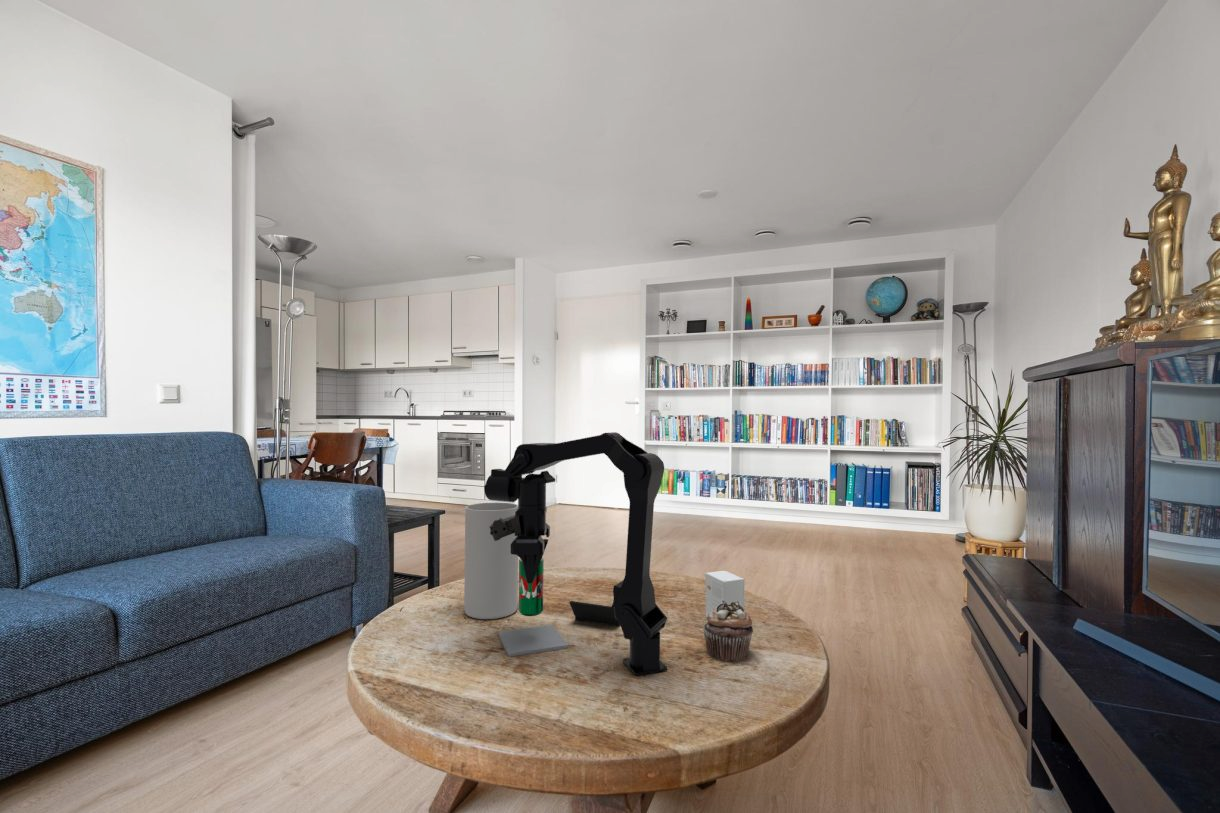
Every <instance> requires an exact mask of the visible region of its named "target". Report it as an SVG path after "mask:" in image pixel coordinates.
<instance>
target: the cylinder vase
mask: <svg viewBox="0 0 1220 813" xmlns="http://www.w3.org/2000/svg"><path fill="white" fill-rule="evenodd" d="M464 507H465V509H464V511H465V512H464V513H465V516H464V518H465V520H464V521H465V522H464V582H463V584H464V593H463V594H464V597H463V598H464V604H463V606H464V607H463V608H464V609H463V610H464V613H465V614H466V615H467V616H468V617H470V618H473V619H477V620H497V619H503V618H506V617H509V616H510V615H513V614H514V613H515V612H516V611H517V610H518V608H519V557H518V556H517V555H513V554H511V543H512V542H513V540H514V539H515V538H516V537H517V536H515V533H513V534H511V535H508V536H505V537H502V538H501V539H500V540H497V541H494V538H493V536H492V535H491V534H490V531H491V530H490V527H489V526H490V525H491V524H492V523H493V522H494V521H495V520H499V519H500V518H502V519H505V518H508V517H511V516H514V515H515V512H516V511H517V509H518V503H514V502H500V501H494V502H482V503H481V502H478V503H473V504H468V505H466V506H464Z"/></svg>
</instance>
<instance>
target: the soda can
mask: <svg viewBox="0 0 1220 813" xmlns="http://www.w3.org/2000/svg"><path fill="white" fill-rule="evenodd" d="M544 560H545V559H544V558H543V557H542V559H541V562H540V564H539V567H538V570H537V573H536V575H535V578H534V581H533V583H527V580H526V575H525V571H524V567H523V563H522V559H521V558H520V557H519V559H518V613H520V615H522V616H524V617H535V616H536V617H537V616H539V615H541V614H542V613H543V611H544V579H545V578H544V576H545V575H544V574H545V573H544V572H545V571H544V565H545V564H544Z"/></svg>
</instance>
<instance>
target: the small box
mask: <svg viewBox="0 0 1220 813" xmlns="http://www.w3.org/2000/svg"><path fill="white" fill-rule="evenodd" d="M704 575H705V580H704V581H705V618H706V617H708V614H709V613H711V612H713V611H714V610H715V609H716V607H717V606H718V605H720V604H721V603H722V601H725V602H726V603H727V604H728V605H730V604H731V603H732V602H737V601H739V603H740V604H741V605H742V607H743V608H744V612H745V613H746V611H745V609H746V608H745V606H746V605H745V602H746V601H745V598H746V597H745V579H744V578H742V577H740V576H738V575H735V574H733V573H731V572H730V571H727V570H720V571H719V570H718V571H712V572H711V571H710V572H708V571H707V572H705V574H704Z"/></svg>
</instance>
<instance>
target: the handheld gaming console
mask: <svg viewBox="0 0 1220 813" xmlns="http://www.w3.org/2000/svg"><path fill="white" fill-rule="evenodd" d="M569 604H570V608H571V610H572V613H573V615H574V618H575V619H574V620H575V621H578V622H587V623H593V624H598V625H599V624H600V625H607V626H613V627H620V628H621V625H620V623H619V621H618V620H617V619H616V617H615V613H614V609H615V607H614V608H611V606H610V605H604V604H603V605H602V604H595V603H588V602H582V601H581V602H580V601H573V600H571V601H569Z"/></svg>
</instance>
